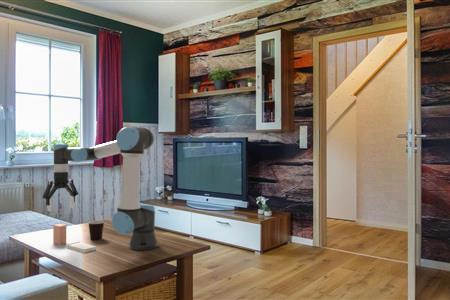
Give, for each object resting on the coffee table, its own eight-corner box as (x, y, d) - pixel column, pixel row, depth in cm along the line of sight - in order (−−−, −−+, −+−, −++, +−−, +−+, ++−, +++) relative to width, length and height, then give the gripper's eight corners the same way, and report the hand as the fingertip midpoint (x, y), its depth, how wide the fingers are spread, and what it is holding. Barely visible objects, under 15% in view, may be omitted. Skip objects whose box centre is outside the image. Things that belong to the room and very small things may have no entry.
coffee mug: (98, 241, 211) (99, 224, 210) (85, 240, 212) (85, 223, 212) (109, 236, 222) (109, 220, 222) (96, 235, 224) (96, 219, 224)
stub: (66, 243, 206) (66, 225, 206) (59, 244, 202) (59, 226, 202) (59, 241, 209) (60, 223, 209) (53, 242, 206) (53, 224, 206)
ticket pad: (95, 250, 194) (95, 246, 194) (84, 253, 188) (84, 249, 188) (79, 245, 202) (79, 241, 202) (67, 248, 196) (67, 244, 196)
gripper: (76, 170, 218) (76, 205, 218) (35, 172, 197) (35, 211, 198) (84, 170, 214) (84, 207, 214) (43, 173, 193) (43, 213, 193)
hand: (60, 209), depth 206 cm, fingers open, 13 cm apart
